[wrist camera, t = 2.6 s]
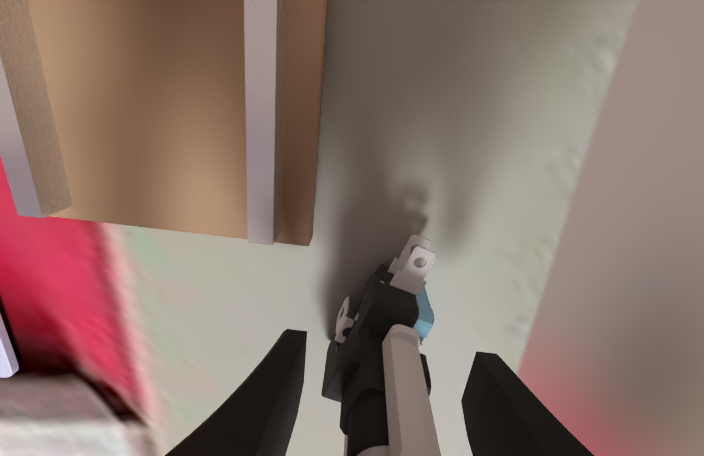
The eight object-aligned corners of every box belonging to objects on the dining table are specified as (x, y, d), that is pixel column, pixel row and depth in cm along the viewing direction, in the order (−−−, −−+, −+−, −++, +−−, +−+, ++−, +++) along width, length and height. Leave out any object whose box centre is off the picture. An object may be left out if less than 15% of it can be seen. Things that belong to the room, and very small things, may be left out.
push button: (354, 204, 12) (328, 576, 3) (486, 258, 13) (793, 697, 4) (293, 341, 15) (175, 777, 6) (406, 381, 15) (471, 829, 6)
